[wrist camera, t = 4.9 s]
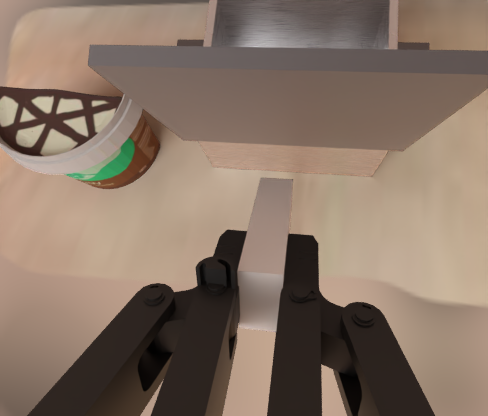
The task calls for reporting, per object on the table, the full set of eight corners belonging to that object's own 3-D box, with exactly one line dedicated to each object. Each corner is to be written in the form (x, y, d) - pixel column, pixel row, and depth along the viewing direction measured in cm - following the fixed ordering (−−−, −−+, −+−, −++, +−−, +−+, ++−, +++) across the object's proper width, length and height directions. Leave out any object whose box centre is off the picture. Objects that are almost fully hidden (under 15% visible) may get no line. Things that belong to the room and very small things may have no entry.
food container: (39, 192, 37) (-50, 155, 27) (56, 132, 38) (-24, 76, 29) (162, 209, 35) (113, 175, 25) (175, 145, 36) (133, 90, 27)
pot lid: (506, 50, 13) (505, 75, 13) (403, 138, 25) (402, 151, 25) (89, 44, 15) (87, 65, 15) (184, 128, 27) (183, 140, 27)
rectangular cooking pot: (402, 53, 36) (433, -14, 28) (400, 178, 33) (433, 141, 25) (203, 50, 38) (181, -13, 31) (187, 165, 36) (159, 128, 28)
